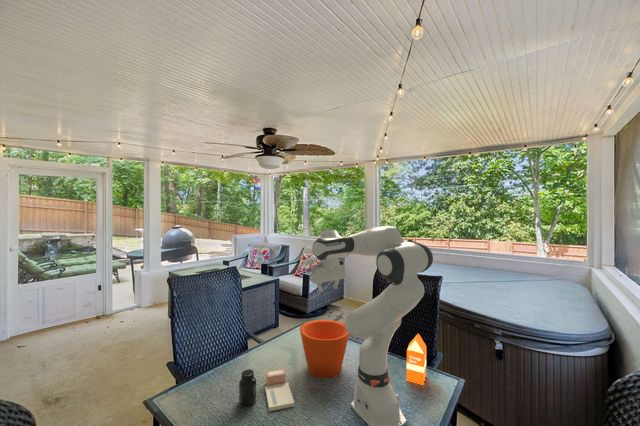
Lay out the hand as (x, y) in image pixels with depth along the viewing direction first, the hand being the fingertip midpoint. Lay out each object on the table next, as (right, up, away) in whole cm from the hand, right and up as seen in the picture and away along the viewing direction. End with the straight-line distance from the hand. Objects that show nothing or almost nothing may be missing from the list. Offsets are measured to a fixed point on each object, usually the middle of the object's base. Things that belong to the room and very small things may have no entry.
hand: (328, 289), depth 138 cm
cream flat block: (-21, -39, -22) cm, 49 cm away
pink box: (-24, -39, -14) cm, 48 cm away
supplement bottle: (-33, -39, -26) cm, 57 cm away
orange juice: (+41, -40, -8) cm, 58 cm away
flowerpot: (-2, -39, -1) cm, 39 cm away
